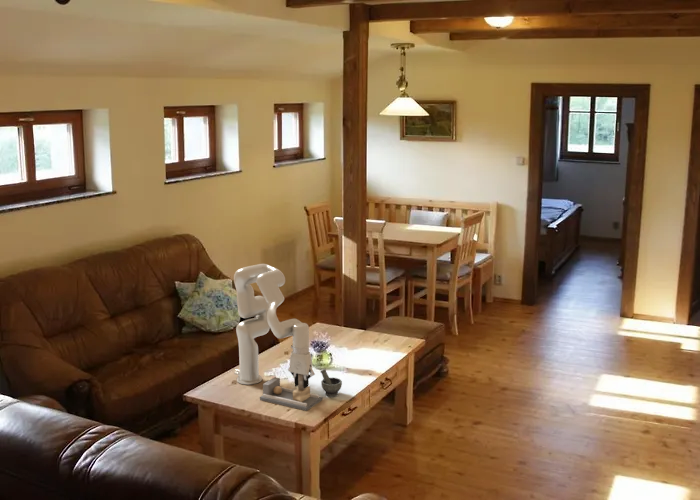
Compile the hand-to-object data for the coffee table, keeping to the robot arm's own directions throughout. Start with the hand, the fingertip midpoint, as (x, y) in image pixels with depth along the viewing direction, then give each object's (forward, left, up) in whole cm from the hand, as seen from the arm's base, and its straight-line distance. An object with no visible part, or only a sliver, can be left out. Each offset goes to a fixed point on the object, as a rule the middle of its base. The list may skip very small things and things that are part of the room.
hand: (301, 386), depth 370 cm
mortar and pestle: (+7, +15, -9) cm, 19 cm away
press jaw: (0, 0, -7) cm, 7 cm away
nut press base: (-6, 0, -8) cm, 10 cm away
